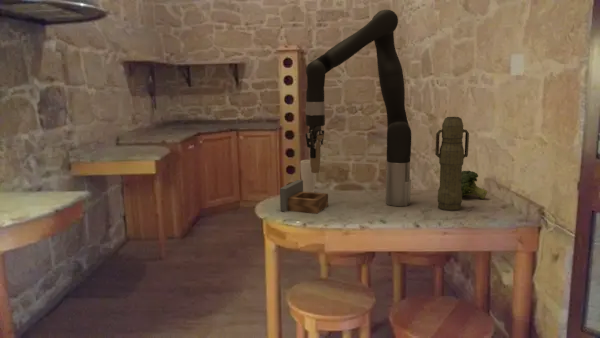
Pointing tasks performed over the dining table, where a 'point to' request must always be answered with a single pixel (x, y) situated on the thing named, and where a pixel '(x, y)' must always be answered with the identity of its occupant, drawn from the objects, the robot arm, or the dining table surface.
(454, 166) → the thermos
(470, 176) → the vegetable
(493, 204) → the dining table surface
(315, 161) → the handle
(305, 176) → the drinking glass
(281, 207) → the slate wall
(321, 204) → the walnut block
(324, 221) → the dining table surface
